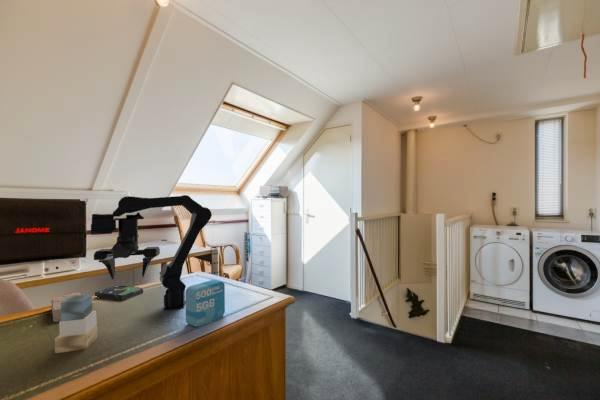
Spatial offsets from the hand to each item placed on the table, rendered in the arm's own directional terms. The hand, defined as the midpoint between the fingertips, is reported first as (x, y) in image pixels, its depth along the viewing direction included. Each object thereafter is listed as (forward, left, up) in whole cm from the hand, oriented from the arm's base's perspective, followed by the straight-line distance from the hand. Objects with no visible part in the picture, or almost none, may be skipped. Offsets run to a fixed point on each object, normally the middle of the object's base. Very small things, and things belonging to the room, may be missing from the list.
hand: (128, 278), depth 95 cm
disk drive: (+11, -25, -14) cm, 31 cm away
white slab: (+7, +18, -9) cm, 21 cm away
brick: (+22, -10, -14) cm, 28 cm away
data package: (-26, +11, -13) cm, 31 cm away
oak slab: (+7, +18, -13) cm, 23 cm away
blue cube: (+7, +18, -5) cm, 20 cm away
